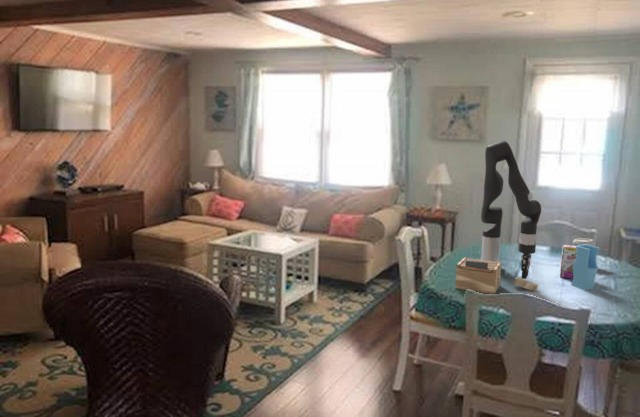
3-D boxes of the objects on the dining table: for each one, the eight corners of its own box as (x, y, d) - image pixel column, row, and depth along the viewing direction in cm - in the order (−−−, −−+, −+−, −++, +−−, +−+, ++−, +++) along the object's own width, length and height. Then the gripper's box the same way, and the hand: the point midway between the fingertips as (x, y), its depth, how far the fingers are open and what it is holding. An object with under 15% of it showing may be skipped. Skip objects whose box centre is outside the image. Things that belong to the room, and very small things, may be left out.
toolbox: (463, 279, 276) (464, 257, 274) (499, 285, 268) (501, 262, 266) (455, 288, 263) (456, 264, 261) (494, 294, 255) (495, 269, 252)
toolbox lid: (467, 260, 273) (467, 253, 273) (498, 264, 267) (498, 257, 266) (459, 267, 260) (460, 260, 260) (491, 272, 253) (492, 264, 253)
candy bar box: (560, 277, 281) (563, 246, 278) (559, 275, 285) (562, 244, 282) (584, 280, 277) (587, 248, 274) (583, 277, 282) (586, 246, 279)
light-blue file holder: (585, 290, 262) (589, 249, 258) (570, 285, 269) (574, 245, 265) (595, 287, 265) (600, 247, 262) (581, 283, 272) (585, 244, 269)
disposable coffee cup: (570, 266, 300) (573, 240, 298) (570, 262, 310) (572, 236, 307) (592, 269, 296) (595, 242, 294) (590, 264, 306) (593, 238, 303)
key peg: (536, 289, 262) (514, 282, 266) (538, 284, 261) (516, 276, 265) (535, 291, 259) (513, 284, 264) (537, 285, 258) (515, 278, 263)
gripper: (521, 238, 267) (518, 272, 270) (516, 244, 254) (514, 280, 258) (537, 240, 263) (535, 274, 266) (533, 246, 251) (531, 282, 254)
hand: (524, 277), depth 262 cm, fingers open, 4 cm apart
